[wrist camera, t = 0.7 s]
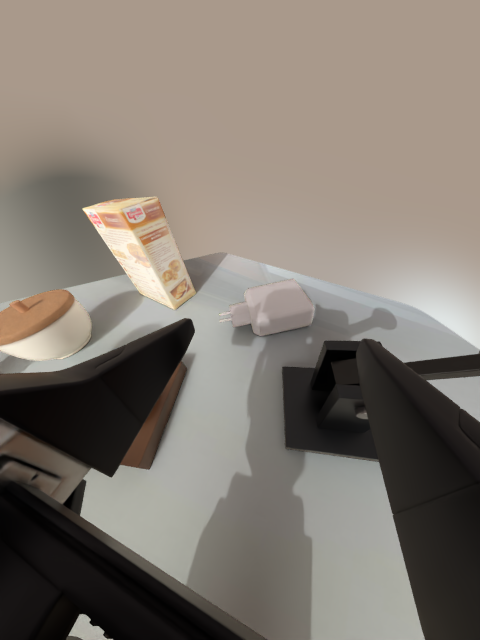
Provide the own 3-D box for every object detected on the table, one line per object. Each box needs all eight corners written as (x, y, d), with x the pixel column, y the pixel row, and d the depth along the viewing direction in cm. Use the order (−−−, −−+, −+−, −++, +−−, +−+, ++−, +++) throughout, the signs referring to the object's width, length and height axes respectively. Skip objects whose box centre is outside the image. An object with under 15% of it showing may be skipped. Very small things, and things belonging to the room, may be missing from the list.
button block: (149, 469, 18) (126, 466, 16) (76, 455, 20) (44, 450, 18) (187, 368, 27) (177, 354, 24) (132, 365, 29) (117, 352, 26)
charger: (220, 311, 35) (290, 296, 35) (224, 346, 29) (311, 327, 29) (214, 292, 32) (292, 276, 32) (217, 328, 25) (315, 307, 26)
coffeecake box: (197, 293, 41) (158, 195, 27) (174, 311, 37) (117, 208, 24) (161, 280, 48) (116, 197, 35) (139, 294, 45) (79, 208, 31)
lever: (526, 347, 12) (552, 317, 10) (584, 395, 10) (632, 368, 8) (334, 371, 17) (328, 354, 15) (343, 404, 15) (337, 389, 13)
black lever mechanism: (369, 375, 22) (412, 324, 15) (406, 465, 16) (508, 449, 9) (282, 370, 24) (285, 324, 17) (285, 448, 18) (292, 424, 11)
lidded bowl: (31, 387, 28) (-60, 349, 21) (37, 344, 36) (-28, 305, 28) (110, 343, 33) (60, 298, 26) (100, 313, 41) (59, 272, 33)
